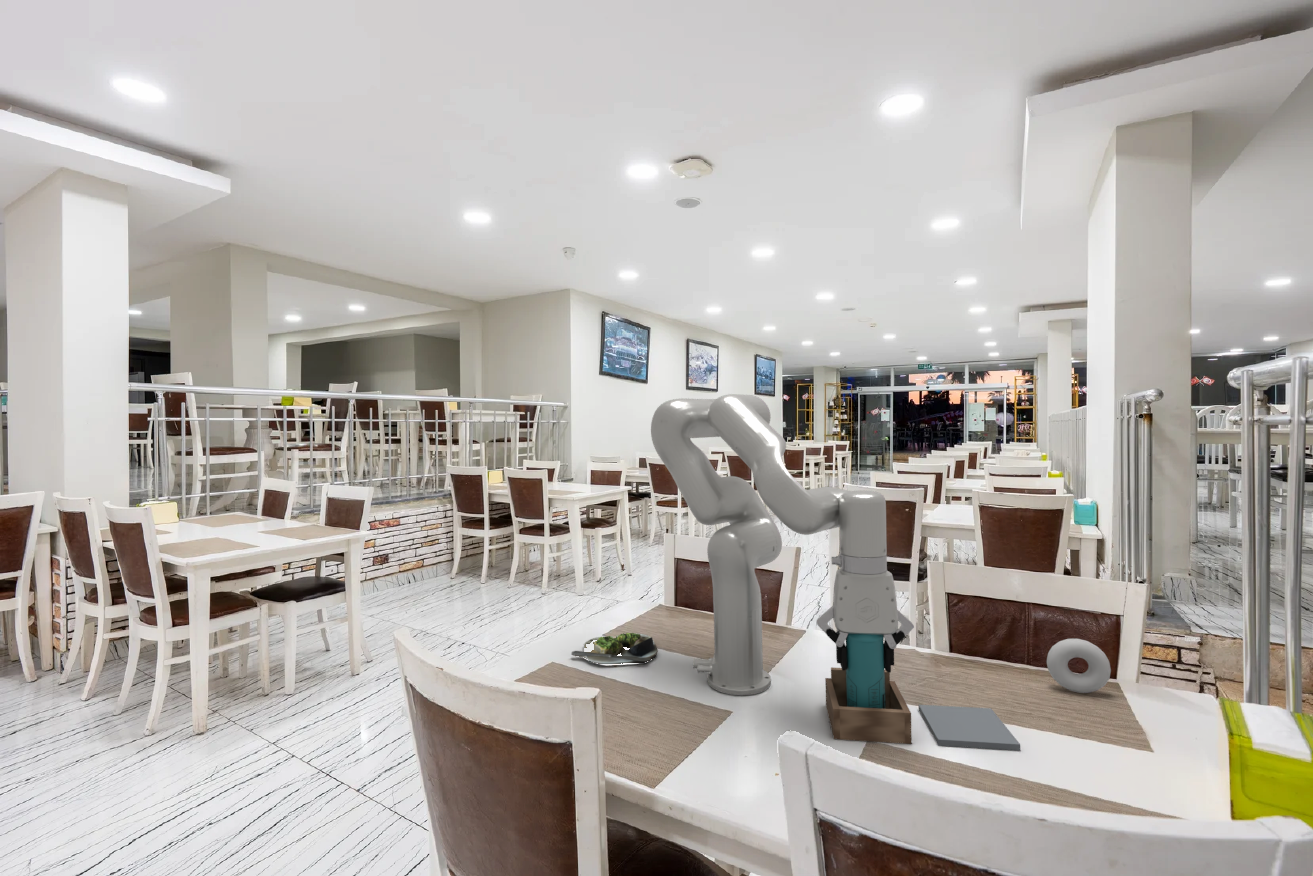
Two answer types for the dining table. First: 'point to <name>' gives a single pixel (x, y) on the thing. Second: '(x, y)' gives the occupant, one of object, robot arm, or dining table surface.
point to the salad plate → (620, 649)
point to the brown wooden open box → (867, 714)
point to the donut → (1072, 681)
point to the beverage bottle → (865, 671)
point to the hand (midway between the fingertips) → (865, 667)
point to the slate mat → (967, 727)
